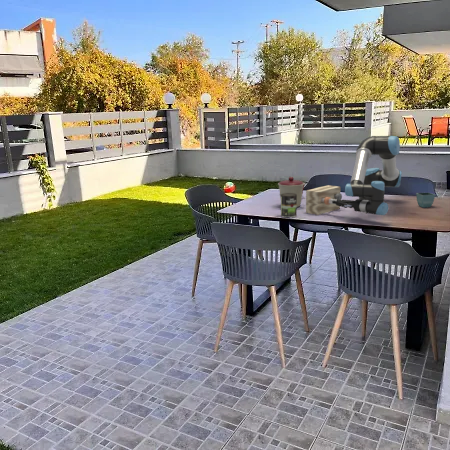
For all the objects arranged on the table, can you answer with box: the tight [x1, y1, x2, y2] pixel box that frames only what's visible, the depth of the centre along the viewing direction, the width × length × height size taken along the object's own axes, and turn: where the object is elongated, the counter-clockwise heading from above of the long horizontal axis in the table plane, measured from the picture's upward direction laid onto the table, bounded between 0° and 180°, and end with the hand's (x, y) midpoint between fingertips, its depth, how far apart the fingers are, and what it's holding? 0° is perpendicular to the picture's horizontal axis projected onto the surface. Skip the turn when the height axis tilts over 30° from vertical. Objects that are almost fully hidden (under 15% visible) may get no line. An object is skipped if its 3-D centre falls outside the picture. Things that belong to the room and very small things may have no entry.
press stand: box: [305, 184, 342, 216], centre depth 302 cm, size 10×24×15 cm, turn 132°
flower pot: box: [415, 192, 436, 209], centre depth 303 cm, size 9×9×9 cm
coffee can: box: [280, 193, 298, 218], centre depth 292 cm, size 10×10×14 cm
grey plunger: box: [334, 192, 343, 200], centre depth 305 cm, size 12×5×5 cm, turn 42°
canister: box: [277, 176, 305, 208], centre depth 317 cm, size 18×18×21 cm
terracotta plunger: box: [321, 197, 331, 205], centre depth 295 cm, size 12×5×5 cm, turn 42°
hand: (329, 200), depth 290 cm, fingers closed
